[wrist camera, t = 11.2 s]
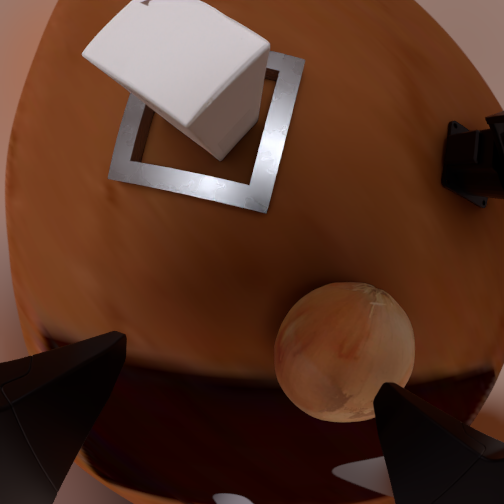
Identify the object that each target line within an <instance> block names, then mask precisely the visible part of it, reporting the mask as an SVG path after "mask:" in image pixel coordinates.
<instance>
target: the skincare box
mask: <svg viewBox="0 0 504 504" xmlns="http://www.w3.org/2000/svg"><path fill="white" fill-rule="evenodd" d="M269 51H270V43H269V42H268V41H267V40H266V39H264V38H263V37H261V36H259V35H258V34H256V33H255V32H253V31H251V30H250V29H248V28H246V27H245V26H243V25H241V24H240V23H238V22H236V21H235V20H233V19H231V18H229V17H227V16H226V15H224V14H223V13H221V12H219V11H218V10H217V9H215V8H213V7H212V6H210V5H208V4H206V3H204V2H202V1H199V0H132V1H131V2H130V3H129V4H128V5H127V6H126V7H124V8H123V9H122V10H121V11H120V12H119V13H118V14H117V15H116V16H115V17H114V18H113V19H112V20H111V21H110V22H109V23H108V24H107V25H106V26H105V27H104V28H103V29H102V30H101V31H100V32H99V33H98V34H97V35H96V37H95V38H94V39H93V40H92V41H91V42H90V44H89V45H88V46H87V47H86V48H85V50H84V51H83V53H82V56H83V57H84V58H86V59H87V60H88V61H90V62H91V63H92V64H94V65H95V66H96V67H98V68H99V69H100V70H102V71H103V72H104V73H106V74H107V75H108V76H110V77H111V78H112V79H113V80H115V81H116V82H117V83H119V84H120V85H121V86H123V87H124V88H125V89H127V90H128V91H129V92H131V93H132V94H133V95H135V96H136V97H137V98H138V99H140V100H141V101H142V102H144V103H145V104H146V105H147V106H149V107H150V108H151V109H153V110H154V111H155V112H156V113H158V114H159V115H160V116H162V117H163V118H164V119H165V120H167V121H168V122H169V123H171V124H172V125H173V126H174V127H176V128H177V129H178V130H180V131H181V132H182V133H184V134H185V135H186V136H188V137H189V138H190V139H192V140H193V141H194V142H196V143H197V144H198V145H200V146H201V147H202V148H204V149H205V150H206V151H208V152H209V153H210V154H211V155H213V156H214V157H215V158H216V159H218V160H219V161H222V160H223V159H224V158H225V156H226V155H227V154H228V153H229V152H230V151H231V150H232V148H233V147H234V146H235V145H236V144H237V143H238V142H239V141H240V140H241V139H242V138H243V137H244V135H245V134H246V133H247V132H248V131H249V130H250V129H251V128H252V127H253V126H254V125H255V124H256V123H257V121H258V117H259V110H260V104H261V96H262V91H263V84H264V78H265V72H266V66H267V61H268V56H269Z"/></svg>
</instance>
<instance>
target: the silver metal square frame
mask: <svg viewBox="0 0 504 504" xmlns="http://www.w3.org/2000/svg"><path fill="white" fill-rule="evenodd" d="M304 63H305V60H304V59H300V58H297V57H293V56H289V55H286V54H282V53H277V52H273V51H269V56H268V61H267V66H266V72H265V78H266V79H270V80H274V81H277V83H276V86H275V90H274V94H273V97H272V101H271V105H270V108H269V112H268V116H267V120H266V123H265V127H264V131H263V135H262V139H261V142H260V146H259V150H258V154H257V158H256V162H255V166H254V169H253V173H252V177H251V181H250V185H246V184H242V183H238V182H233V181H229V180H225V179H220V178H216V177H211V176H207V175H202V174H197V173H193V172H188V171H183V170H178V169H173V168H167V167H162V166H157V165H151V164H146V163H141V159H142V155H143V151H144V147H145V143H146V139H147V135H148V132H149V128H150V125H151V121H152V118H153V114H154V110H153V109H151V108H150V107H149V106H147V105H146V104H145V103H144V102H142V101H141V100H140V99H138V98H137V97H136V96H135V95H133V94H132V93H130V96H129V99H128V102H127V105H126V109H125V112H124V115H123V118H122V122H121V125H120V129H119V133H118V136H117V140H116V144H115V148H114V152H113V156H112V161H111V165H110V170H109V175H108V179H112V180H117V181H122V182H127V183H133V184H138V185H143V186H148V187H153V188H157V189H162V190H167V191H172V192H176V193H181V194H186V195H190V196H195V197H199V198H204V199H208V200H212V201H217V202H221V203H225V204H229V205H234V206H238V207H242V208H246V209H250V210H254V211H258V212H262V213H267V210H268V206H269V202H270V198H271V194H272V190H273V186H274V182H275V178H276V174H277V170H278V166H279V163H280V159H281V155H282V151H283V147H284V143H285V139H286V135H287V131H288V127H289V123H290V119H291V115H292V111H293V107H294V103H295V99H296V95H297V91H298V87H299V83H300V79H301V75H302V71H303V67H304Z"/></svg>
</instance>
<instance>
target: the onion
mask: <svg viewBox="0 0 504 504" xmlns="http://www.w3.org/2000/svg"><path fill="white" fill-rule="evenodd" d="M414 358H415V340H414V333H413V329H412V325H411V322H410V320H409V318H408V316H407V315H406V313H405V312H404V310H403V309H402V308H401V307H400V305H399V304H398V303H397V302H396V301H395V300H394V299H393V298H392V297H391V296H390V295H389V294H388V293H387V292H385V291H383V290H381V289H377V288H375V287H374V286H373V285H370V284H367V283H363V282H339V283H330V284H328V285H325V286H322V287H320V288H317V289H315V290H313V291H311V292H310V293H308V294H307V295H305V296H304V297H302V298H301V299H300V300H299V301H298V302H297V303H296V304H295V305H294V306H293V307H292V308H291V309H290V311H289V312H288V314H287V315H286V317H285V318H284V320H283V322H282V324H281V326H280V328H279V331H278V334H277V337H276V340H275V344H274V365H275V372H276V376H277V379H278V382H279V384H280V386H281V388H282V389H283V391H284V392H285V394H286V395H287V396H288V398H289V399H290V400H291V401H292V402H293V403H294V404H295V405H296V406H297V407H298V408H300V409H301V410H303V411H304V412H306V413H307V414H309V415H310V416H313V417H315V418H318V419H321V420H326V421H333V422H354V421H363V420H368V419H371V418H374V417H375V413H374V407H373V400H374V398H375V396H376V394H377V393H378V391H379V389H380V388H381V386H382V384H383V383H385V382H394V383H396V384H398V385H399V386H401V387H403V388H404V387H405V385H406V383H407V381H408V379H409V377H410V375H411V373H412V370H413V365H414Z"/></svg>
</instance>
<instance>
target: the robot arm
mask: <svg viewBox="0 0 504 504" xmlns="http://www.w3.org/2000/svg"><path fill="white" fill-rule="evenodd" d="M485 119H486V121H487V124H489V127H490V129H485V130H473V131H469V130H468V129H467V128H465V127H464V126H462V125H461V124H459V123H458V122H456V121H451V122H450V123H449V132H448V140H447V148H446V156H445V163H444V169H443V175H442V185H443V187H445V188H447V189H449V190H450V191H452V192H454V193H456V194H458V195H460V196H461V197H463V198H465V199H467V200H469V201H470V202H472V203H474V204H475V205H477V206H479V207H481V208H485V207H486V205H487V199H488V197H490V198H498V199H504V111H502V112H499V113H496V114H494V115H491V116H488V117H485ZM454 126H455V128H454ZM446 180H447V183H446ZM482 202H483V204H482ZM126 342H127V338H126V335H125V334H123V333H120V332H117V331H112V332H109V333H106V334H102V335H99V336H96V337H93V338H89V339H86V340H83V341H80V342H76V343H73V344H70V345H66V346H63V347H59V348H56V349H53V350H49V351H46V352H42V353H39V354H35V355H33V356H28V357H24V358H20V359H17V360H12V361H8V362H3V363H0V504H53V502H54V500H55V498H56V496H57V492H58V491H59V489H60V487H61V485H62V483H63V481H64V479H65V477H66V475H67V473H68V471H69V469H70V467H71V465H72V464H73V462H74V460H75V458H76V456H77V454H78V452H79V450H80V448H81V447H82V445H83V443H84V441H85V439H86V437H87V436H88V434H89V432H90V430H91V428H92V427H93V425H94V423H95V421H96V419H97V418H98V416H99V414H100V412H101V411H102V409H103V407H104V405H105V404H106V402H107V400H108V398H109V396H110V394H111V392H112V390H113V387H114V385H115V383H116V380H117V378H118V376H119V373H120V371H121V369H122V366H123V364H124V362H125V358H126ZM373 407H374V413H375V418H376V424H377V430H378V435H379V440H380V443H381V447H382V451H383V454H384V458H385V462H386V466H387V469H388V474H389V478H390V482H391V486H392V490H393V495H394V499H395V504H504V443H503V442H501V441H499V440H496V439H494V438H492V437H490V436H488V435H486V434H484V433H481V432H479V431H477V430H475V429H474V428H472V427H470V426H468V425H466V424H464V423H463V422H461V421H459V420H457V419H455V418H454V417H452V416H450V415H448V414H447V413H445V412H443V411H441V410H440V409H438V408H436V407H435V406H433V405H431V404H429V403H428V402H426V401H424V400H423V399H421V398H419V397H418V396H416V395H414V394H413V393H411V392H409V391H408V390H406V389H404V388H403V387H401V386H399V385H398V384H396V383H394V382H385V383H383V384H382V386H381V388H380V389H379V391H378V393H377V394H376V396H375V398H374V400H373Z"/></svg>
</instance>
